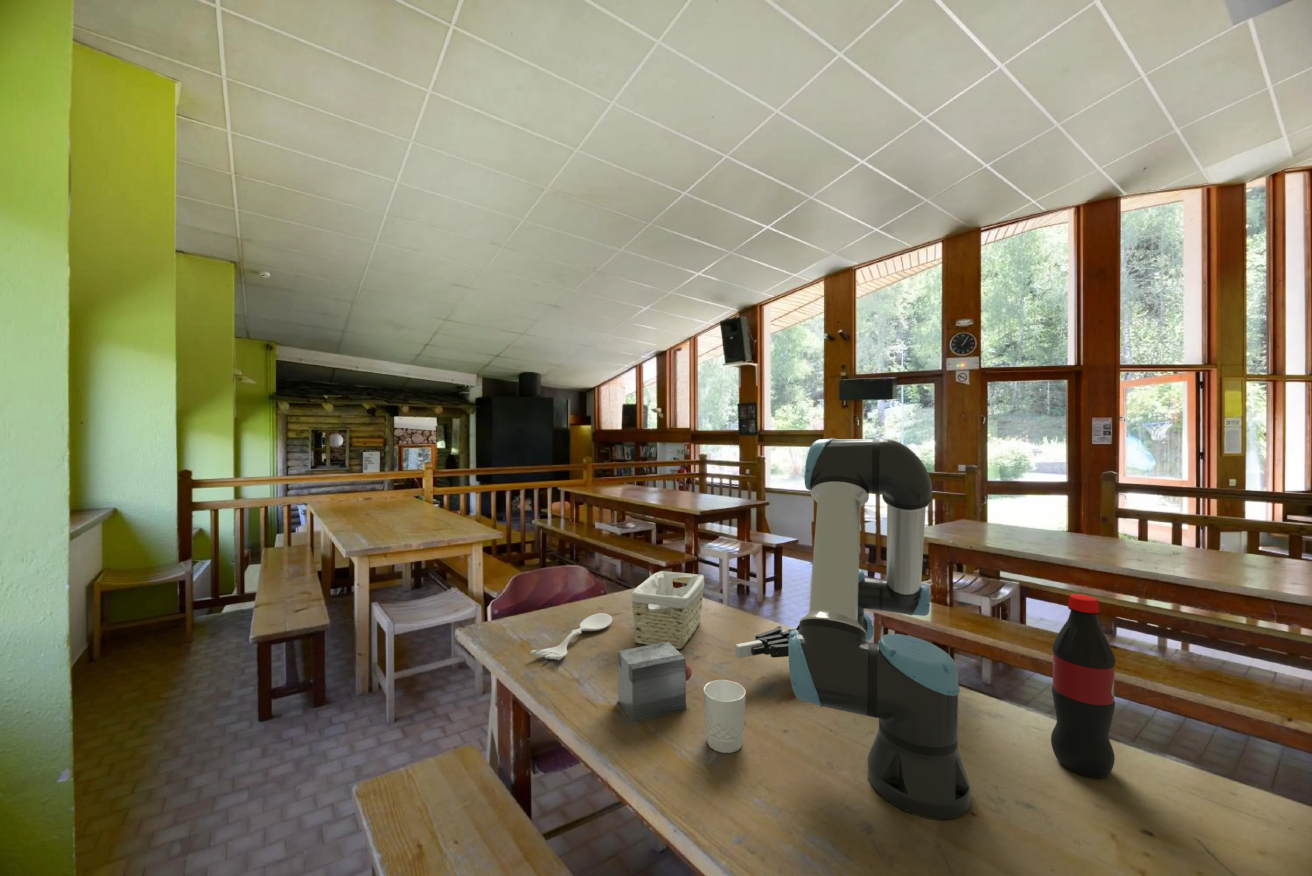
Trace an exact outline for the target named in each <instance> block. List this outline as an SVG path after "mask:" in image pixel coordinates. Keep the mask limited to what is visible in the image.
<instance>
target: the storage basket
mask: <svg viewBox="0 0 1312 876" xmlns="http://www.w3.org/2000/svg"><path fill="white" fill-rule="evenodd" d="M673 582H675V583H680V584H686V585H684V586H681V587H677V588H674V584H673ZM704 587H705V576H704V575H703V574H696V573H695V574H694V573H685V572H676V571H675V572H674V571H673V572H672V571H663V570H662V571H661V570H660V571H658V572H655V573H653V574H652V575H650V576H649V577H647V579H645V580H644V581H643V582H642V583H641V584H639V585H638V586H637V587H635V589H634V590H633V591H632V593H631V598H630V599H631V602H632V603H631V608H632V616H633V617H632V618H633V619H632V622H633V636H634V638H633V641H634V642H635V643H637V644H643V645H644V646H648V645H653V644H659V643H664V642H669V643H670V644H671V645H672V646H673V647H674V648H675V649H676V650H681V649H683V648H684V646H685V645H686V644H687V643H688V641H689V639H691V638H692V635H694V633H695V631H696V630H697V627H698V626H699V624H701V623H700V622H701V619H702V618H701V617H702V614H701V613H702V610H703V608H702V607H703V594H704Z"/></svg>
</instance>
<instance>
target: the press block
mask: <svg viewBox="0 0 1312 876" xmlns="http://www.w3.org/2000/svg"><path fill="white" fill-rule="evenodd" d="M617 654H618V655H617V672H618V673H617V674H618V676H617V685H618V686H617V687H618V688H617V693H618V694H617V695H618V703H619V704H620V706H621V707H622V709H623V710H624V712H625V714H626V715H627V717H628V718H629V720H630V721H631V723H632V724H635V723H639V722H642V721H647V720H651V719H654V718H659V717H662V716H663V717H664V716H667V715H672V714H675V713H679V712H683V711H687V697H686V696H687V688H686V687H687V684H686V682H687V681H686V663H687V661H686V659H687V658H686V657H685V656H684V655H683V654H682V653H681V652H680V651H679V650H678V649H675V648H674V647H673V646H672V645H671V644H670V643H669V642H664V643H659V644H653V645H643V646H638V647H633V648H628V649H622V650H618V651H617Z"/></svg>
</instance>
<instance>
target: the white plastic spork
mask: <svg viewBox="0 0 1312 876" xmlns="http://www.w3.org/2000/svg"><path fill="white" fill-rule="evenodd" d="M612 622H613V617H612V616H611V615H610V614H608V613H600V612H599V613H595V614H592V615H590V616H587V617H585V618H584V619H583V620H581V622H579V625H578V626H579V628H577V629H572V630H570V633H569V634H568V635H567V636H566V637H565V638H564V639H563V641H562V642H561V643H560V644H558V645H557V646H554V647H547V648H543V649H532V650H531V651H530V652H529V653H530V655H534V656H538V657H540V658H544V659H550V660H557V661H560V660H562V659H563V658H564V657H565V656H566V655H568V648H567V647H568V645H569V642H570V641H571V640H572V639H573V638H574V637H575V636H578V635H580V634H582V632H595V631H596V632H597V631H601V630H603V629H605V628H608V627H609V626H610V625H611V623H612Z"/></svg>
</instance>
